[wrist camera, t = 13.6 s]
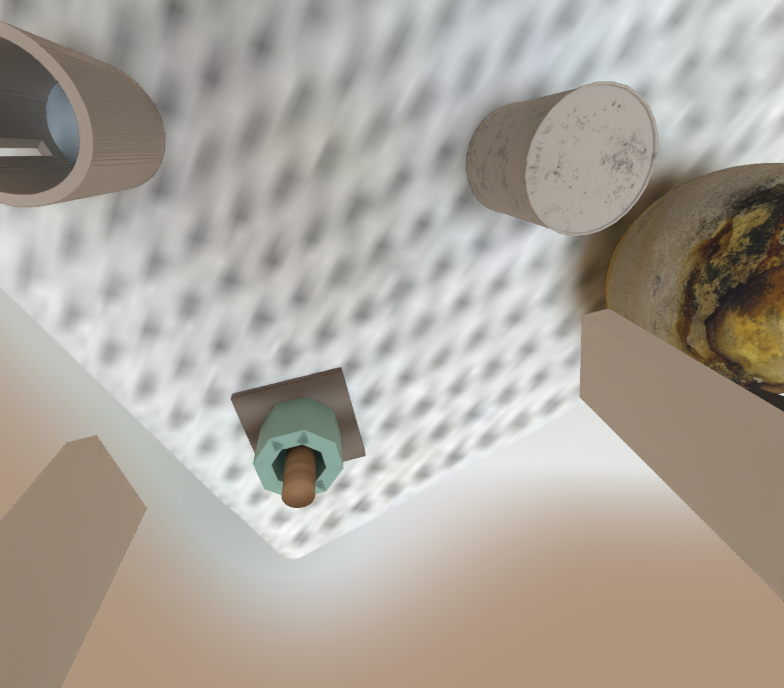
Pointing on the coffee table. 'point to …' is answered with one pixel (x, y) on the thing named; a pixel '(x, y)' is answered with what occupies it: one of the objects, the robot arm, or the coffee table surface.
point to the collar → (299, 442)
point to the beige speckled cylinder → (566, 157)
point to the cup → (94, 117)
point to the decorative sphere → (711, 273)
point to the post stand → (302, 458)
